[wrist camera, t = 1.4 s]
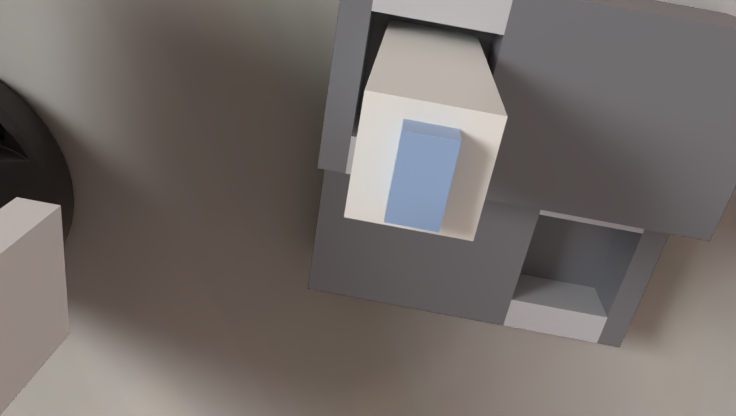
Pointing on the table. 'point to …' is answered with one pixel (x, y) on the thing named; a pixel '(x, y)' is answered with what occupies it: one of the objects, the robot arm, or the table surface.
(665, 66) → the grey socket holder
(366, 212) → the cream long block
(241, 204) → the table surface
